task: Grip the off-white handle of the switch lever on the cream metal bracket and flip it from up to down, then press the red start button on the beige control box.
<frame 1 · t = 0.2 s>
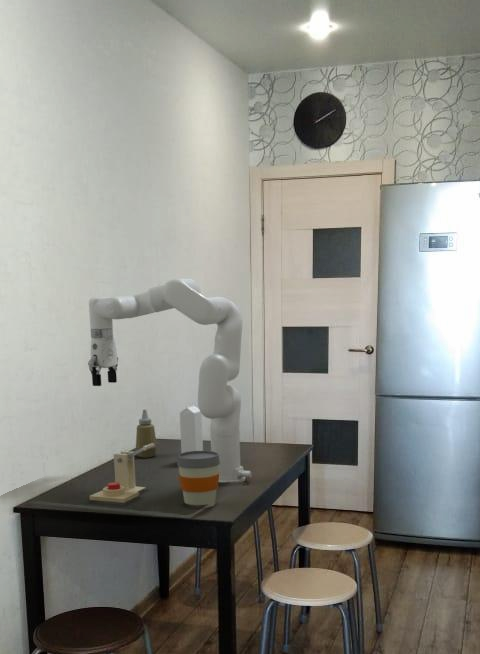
hand: (104, 384, 292), 31 cm above the table, tool pointing down, fingers open, 9 cm apart
switch bracket: (126, 492, 268), on the table
squeeze bottle: (146, 457, 324), on the table
reusable coffee cup: (200, 505, 252), on the table
start button: (113, 486, 258), point 4 cm above the table, slide at 0.1 cm
control box: (114, 500, 259), on the table
switch lever: (135, 453, 264), point 13 cm above the table, hinge at 25.0°
milk: (192, 463, 311), on the table
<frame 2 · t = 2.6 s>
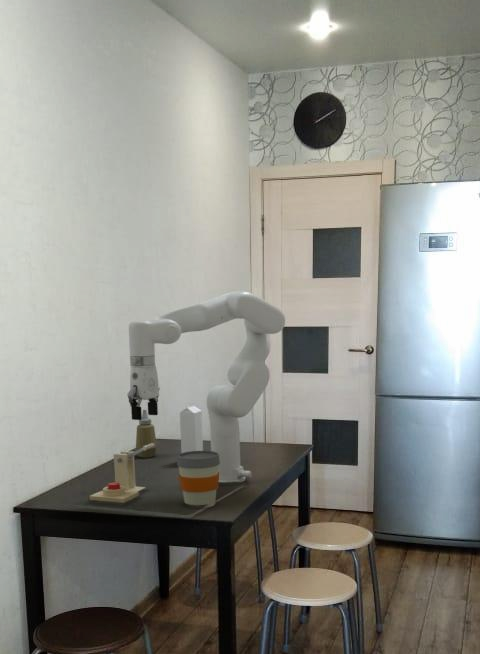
hand: (145, 417, 262), 24 cm above the table, tool pointing down, fingers open, 9 cm apart
nothing on the table moved.
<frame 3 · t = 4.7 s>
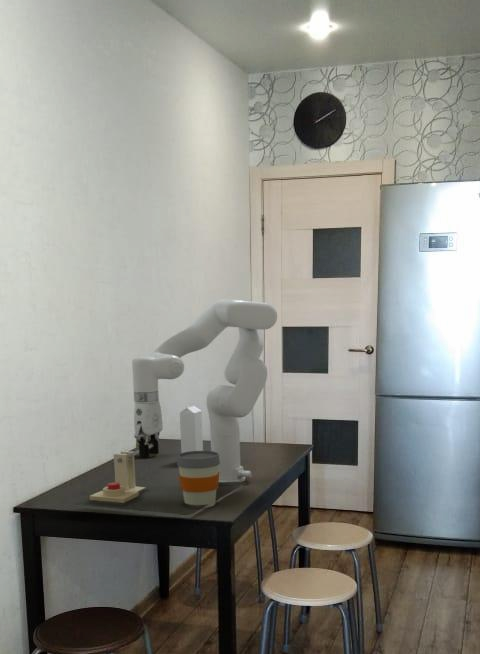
hand: (149, 454, 263), 13 cm above the table, tool pointing down, fingers closed on switch lever, 5 cm apart
switch lever: (135, 453, 264), point 13 cm above the table, hinge at 25.0°, touching gripper
everything else where it was.
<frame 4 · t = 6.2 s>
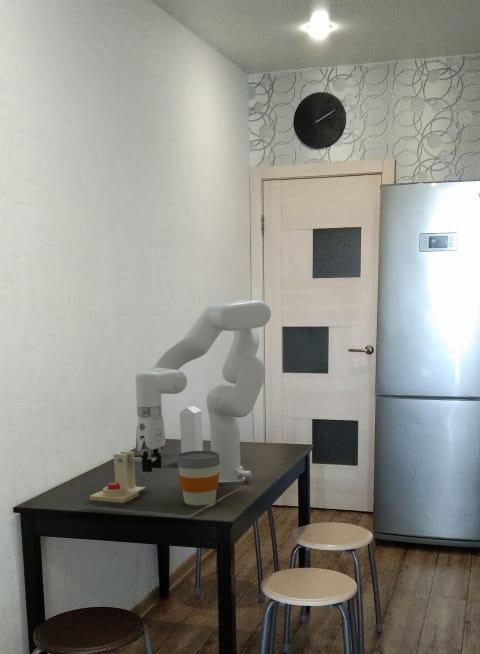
hand: (152, 469, 263), 8 cm above the table, tool pointing down, fingers closed on switch lever, 5 cm apart
switch lever: (137, 459, 265), point 11 cm above the table, hinge at 0.6°, touching gripper
everything else where it was.
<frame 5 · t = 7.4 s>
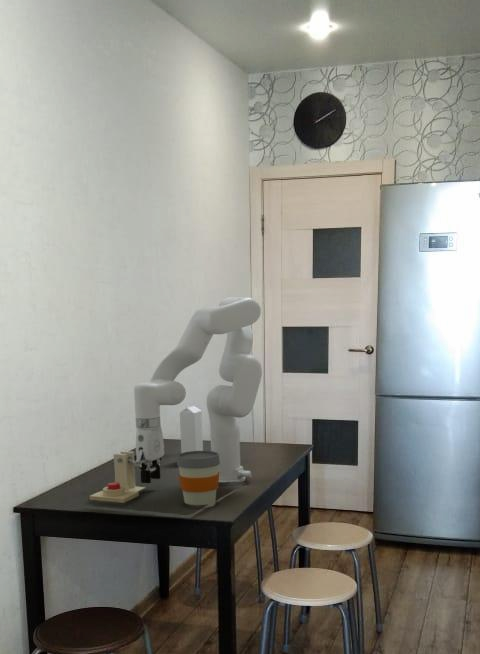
hand: (150, 480, 264), 5 cm above the table, tool pointing down, fingers open, 5 cm apart
switch lever: (136, 464, 265), point 10 cm above the table, hinge at -18.7°
everything else where it was.
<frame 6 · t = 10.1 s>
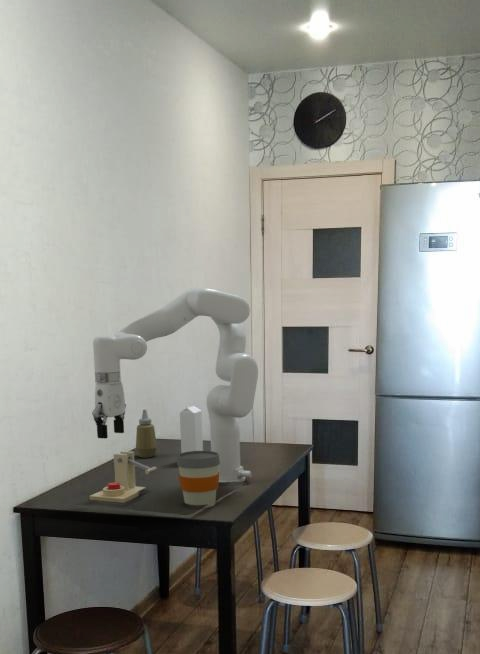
hand: (111, 435, 255), 20 cm above the table, tool pointing down, fingers open, 8 cm apart
nothing on the table moved.
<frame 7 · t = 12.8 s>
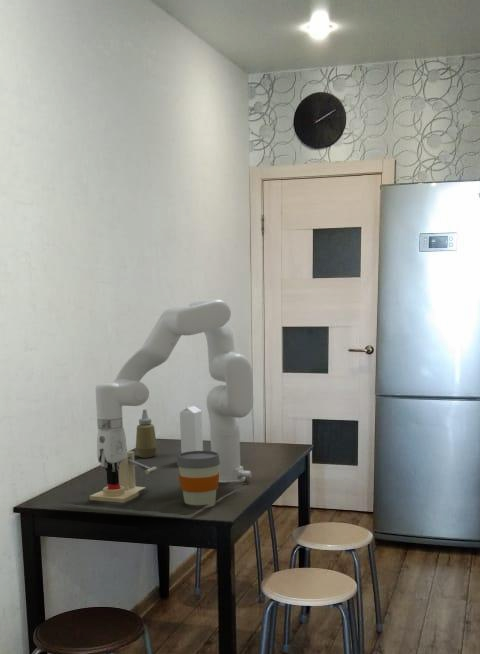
hand: (113, 483, 258), 5 cm above the table, tool pointing down, fingers closed
start button: (113, 486, 258), point 4 cm above the table, slide at 0.1 cm, touching gripper
everything else where it was.
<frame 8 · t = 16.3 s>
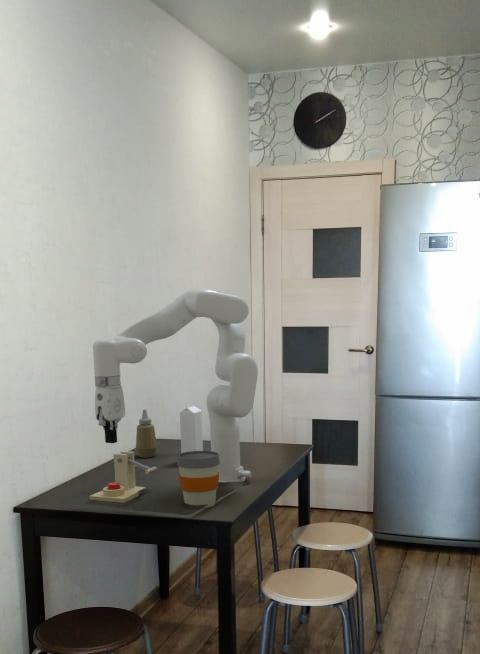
hand: (111, 442, 255), 18 cm above the table, tool pointing down, fingers closed
start button: (113, 486, 258), point 5 cm above the table, slide at 0.1 cm
everything else where it was.
at the end: switch lever at -19° (first picture: +25°); start button pushed in 1.1 cm at the most during the clip and back out by the end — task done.
